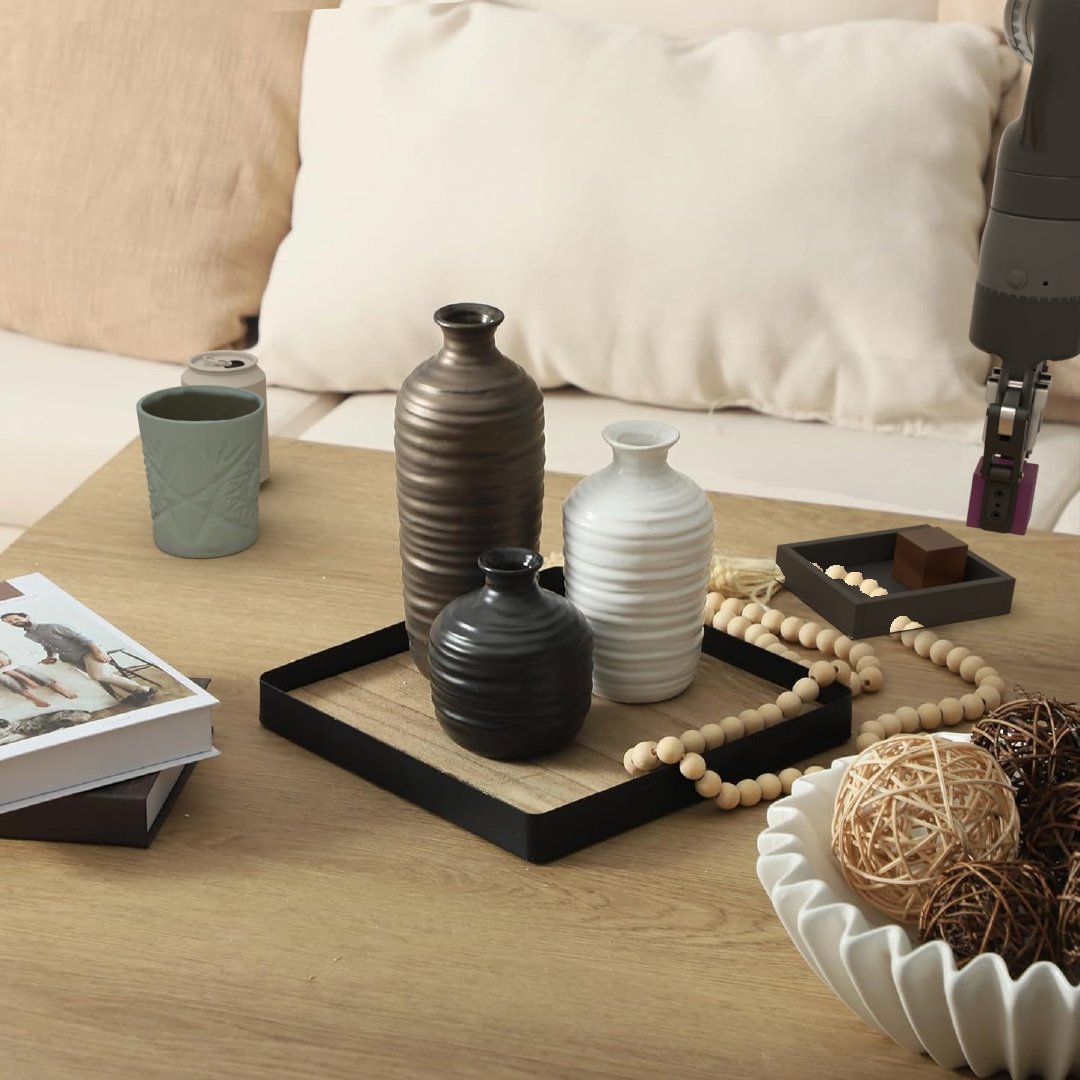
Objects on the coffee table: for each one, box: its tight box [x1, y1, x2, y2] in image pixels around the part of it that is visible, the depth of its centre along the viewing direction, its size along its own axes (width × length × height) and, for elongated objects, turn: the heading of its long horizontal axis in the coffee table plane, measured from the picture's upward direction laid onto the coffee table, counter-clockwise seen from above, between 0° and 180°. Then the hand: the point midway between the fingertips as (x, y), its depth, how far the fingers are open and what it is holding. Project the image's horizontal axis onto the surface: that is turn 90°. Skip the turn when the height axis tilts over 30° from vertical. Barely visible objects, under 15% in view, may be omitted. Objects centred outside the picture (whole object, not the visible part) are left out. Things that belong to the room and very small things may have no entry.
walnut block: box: [891, 526, 969, 591], centre depth 118 cm, size 4×4×4 cm
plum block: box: [965, 455, 1040, 537], centre depth 104 cm, size 4×4×4 cm
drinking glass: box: [135, 385, 265, 559], centre depth 122 cm, size 10×10×12 cm
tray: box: [774, 523, 1017, 641], centre depth 117 cm, size 15×12×3 cm
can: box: [180, 349, 271, 486], centre depth 134 cm, size 8×8×12 cm
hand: (999, 517), depth 104 cm, fingers closed on plum block, 4 cm apart
